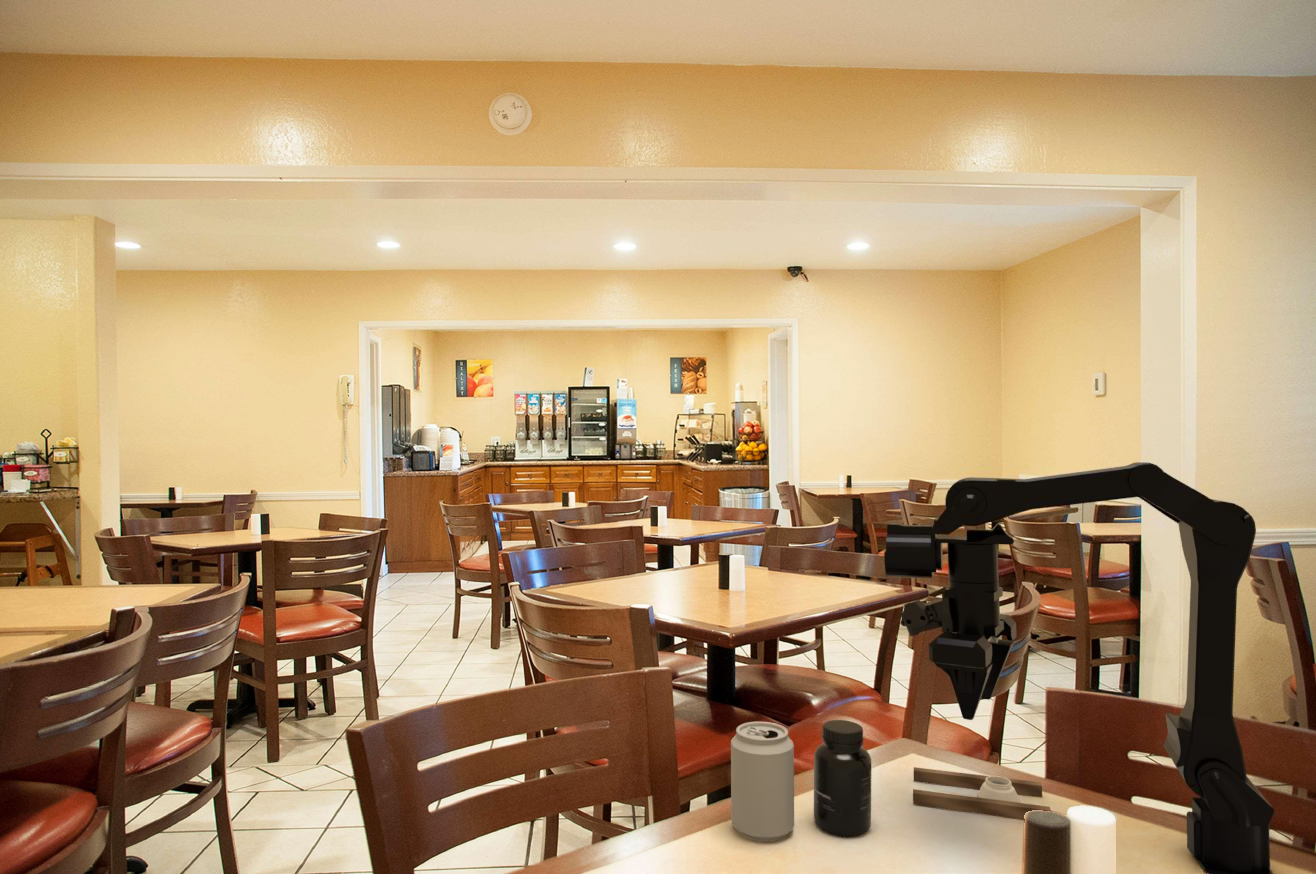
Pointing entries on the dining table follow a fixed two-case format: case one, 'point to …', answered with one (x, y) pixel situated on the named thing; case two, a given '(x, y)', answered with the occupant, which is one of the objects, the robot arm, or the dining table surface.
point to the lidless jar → (998, 789)
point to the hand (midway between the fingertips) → (977, 708)
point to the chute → (973, 803)
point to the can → (762, 781)
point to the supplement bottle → (842, 781)
